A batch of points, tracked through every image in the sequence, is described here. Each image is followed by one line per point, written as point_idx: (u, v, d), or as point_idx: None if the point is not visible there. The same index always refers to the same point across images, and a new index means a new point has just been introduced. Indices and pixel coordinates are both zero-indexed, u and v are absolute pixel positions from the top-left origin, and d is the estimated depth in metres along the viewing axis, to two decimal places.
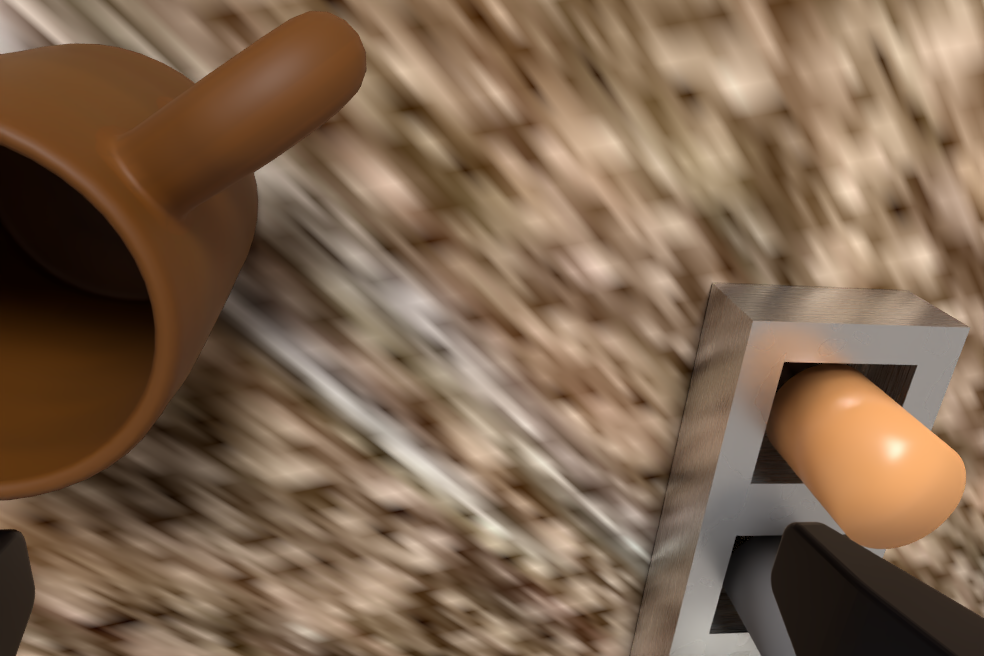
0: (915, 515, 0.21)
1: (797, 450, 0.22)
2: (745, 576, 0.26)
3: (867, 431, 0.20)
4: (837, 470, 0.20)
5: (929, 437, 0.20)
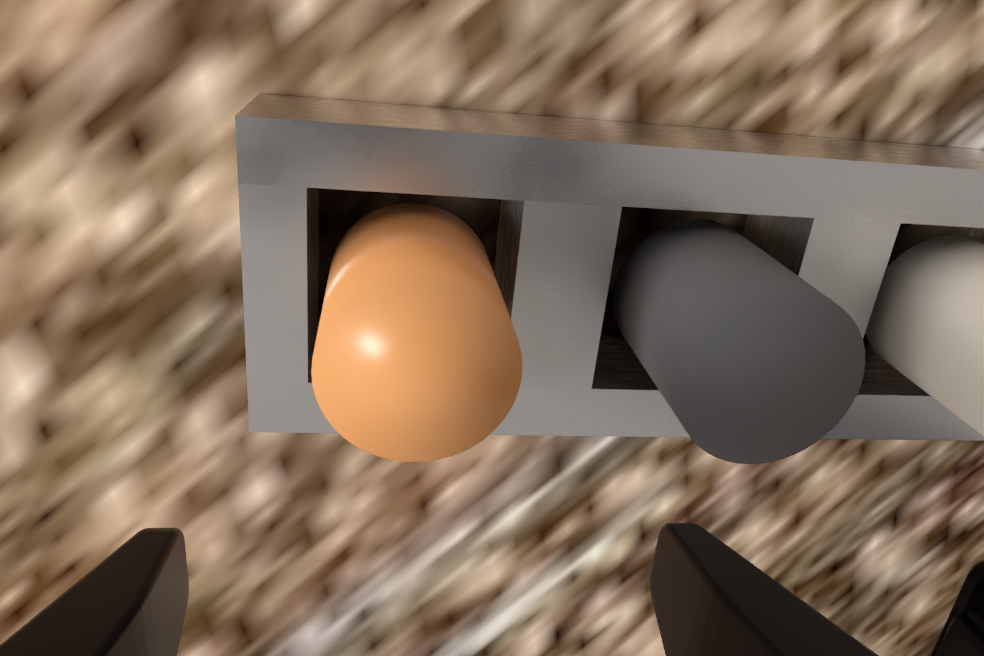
0: (459, 342, 0.13)
1: None
2: None
3: None
4: None
5: (314, 349, 0.13)
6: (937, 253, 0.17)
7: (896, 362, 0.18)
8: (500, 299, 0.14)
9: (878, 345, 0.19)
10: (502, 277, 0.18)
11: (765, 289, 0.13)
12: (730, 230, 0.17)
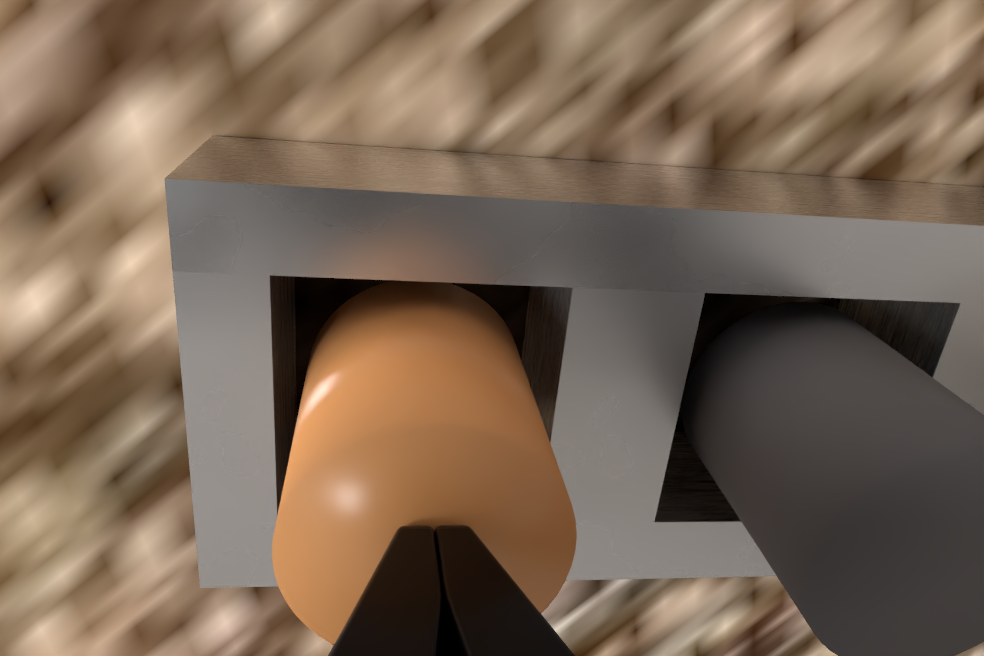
0: (488, 509, 0.09)
1: None
2: None
3: None
4: None
5: (276, 522, 0.09)
6: None
7: None
8: (543, 436, 0.10)
9: None
10: (535, 373, 0.14)
11: (940, 439, 0.09)
12: (846, 319, 0.12)
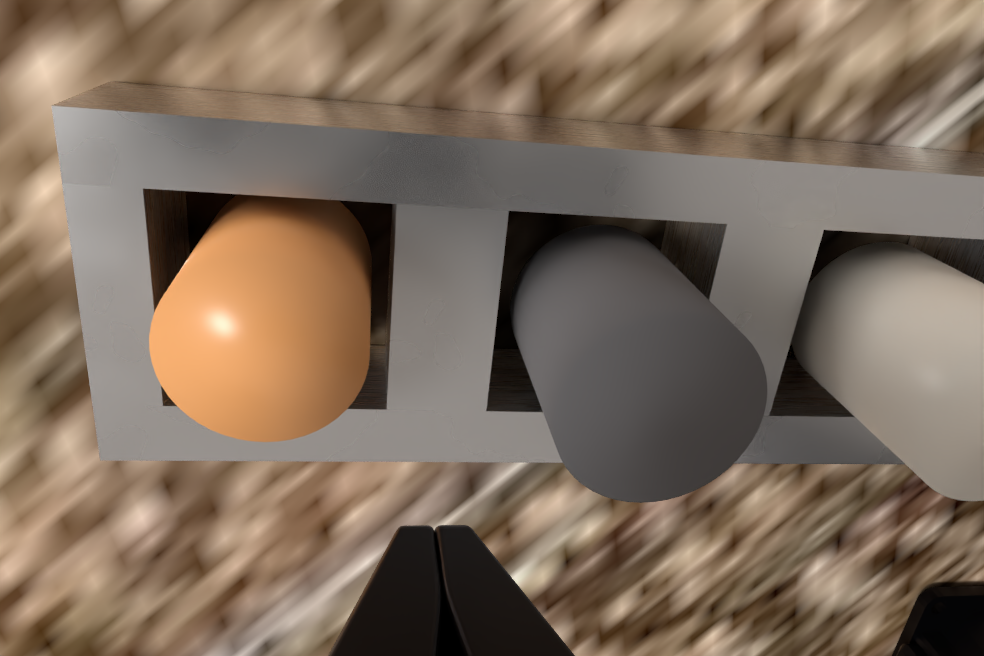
0: (301, 319, 0.13)
1: None
2: None
3: None
4: None
5: (152, 327, 0.13)
6: (865, 262, 0.16)
7: (822, 382, 0.16)
8: (351, 277, 0.13)
9: (805, 362, 0.17)
10: None
11: (649, 308, 0.12)
12: (634, 237, 0.15)
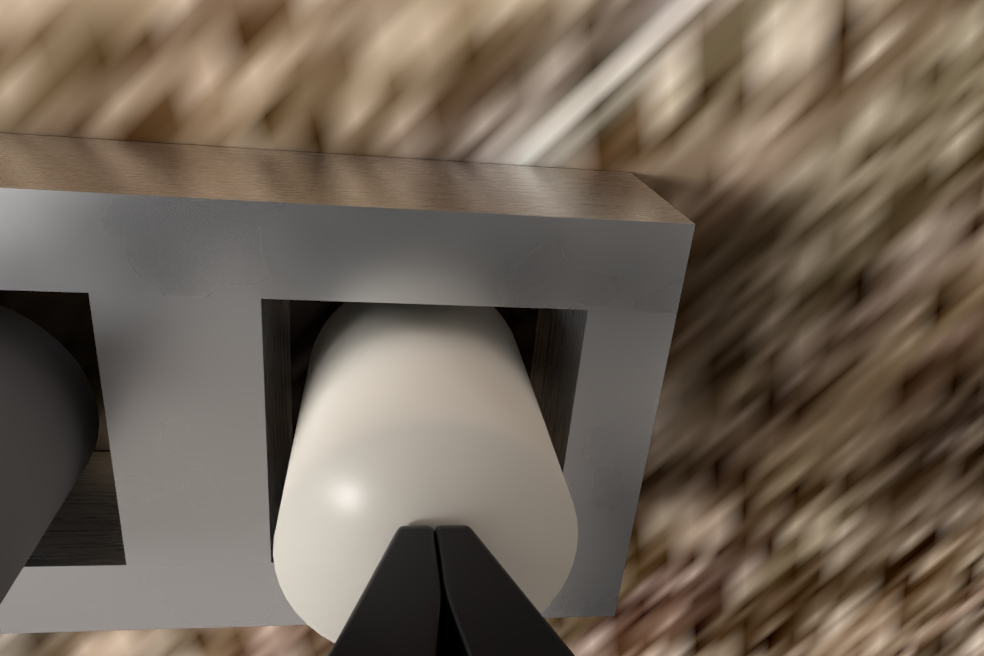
0: None
1: None
2: None
3: None
4: None
5: None
6: (359, 308, 0.12)
7: None
8: None
9: None
10: None
11: None
12: None
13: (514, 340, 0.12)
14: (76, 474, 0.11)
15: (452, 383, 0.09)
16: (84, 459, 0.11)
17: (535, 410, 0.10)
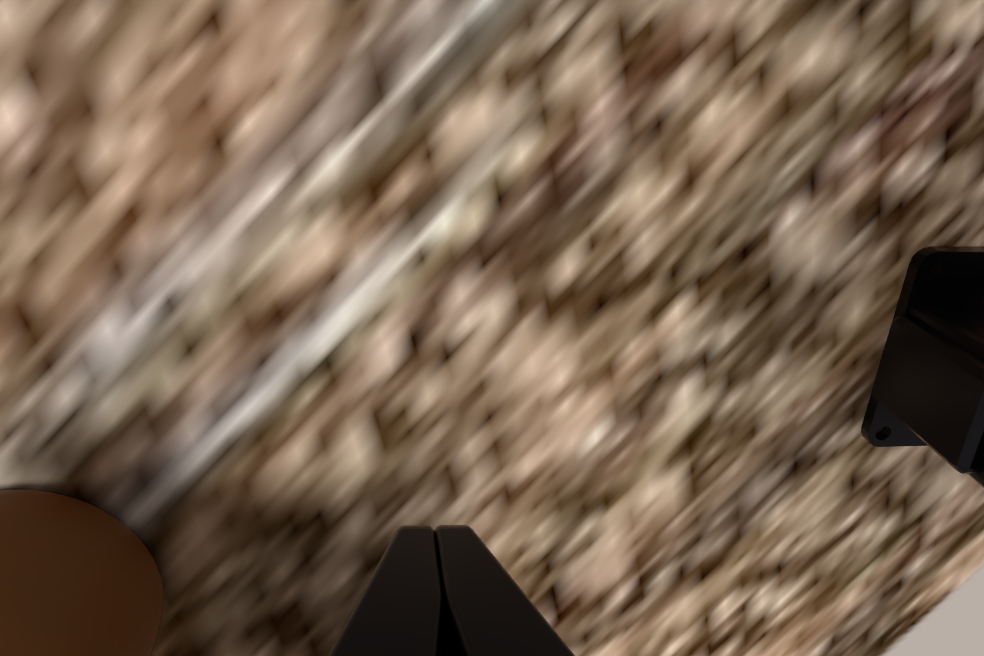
0: None
1: None
2: None
3: None
4: None
5: None
6: None
7: None
8: None
9: None
10: None
11: None
12: None
13: None
14: None
15: None
16: None
17: None
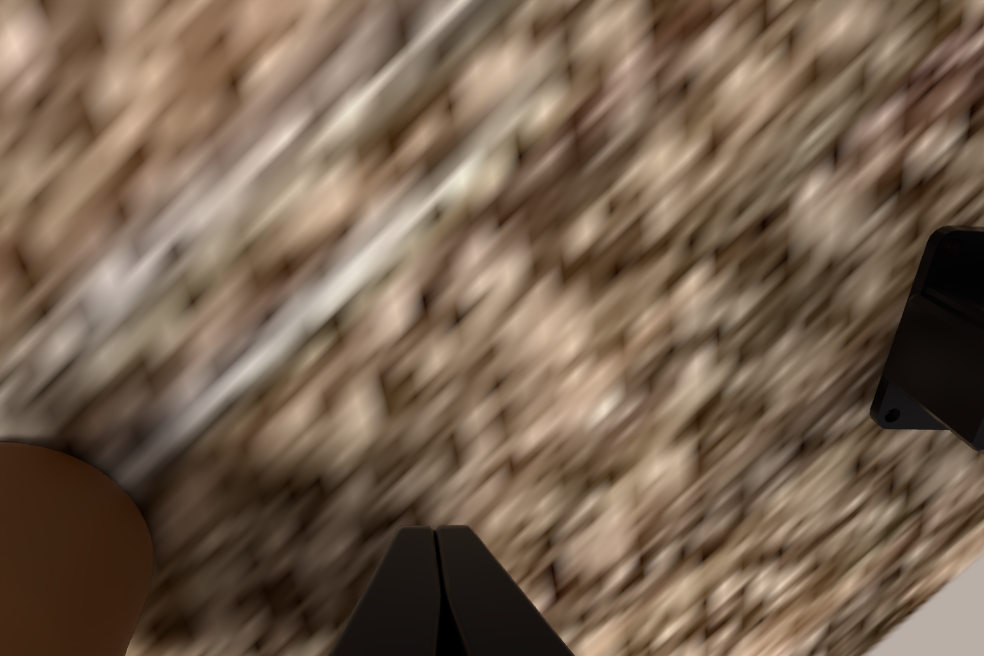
0: None
1: None
2: None
3: None
4: None
5: None
6: None
7: None
8: None
9: None
10: None
11: None
12: None
13: None
14: None
15: None
16: None
17: None
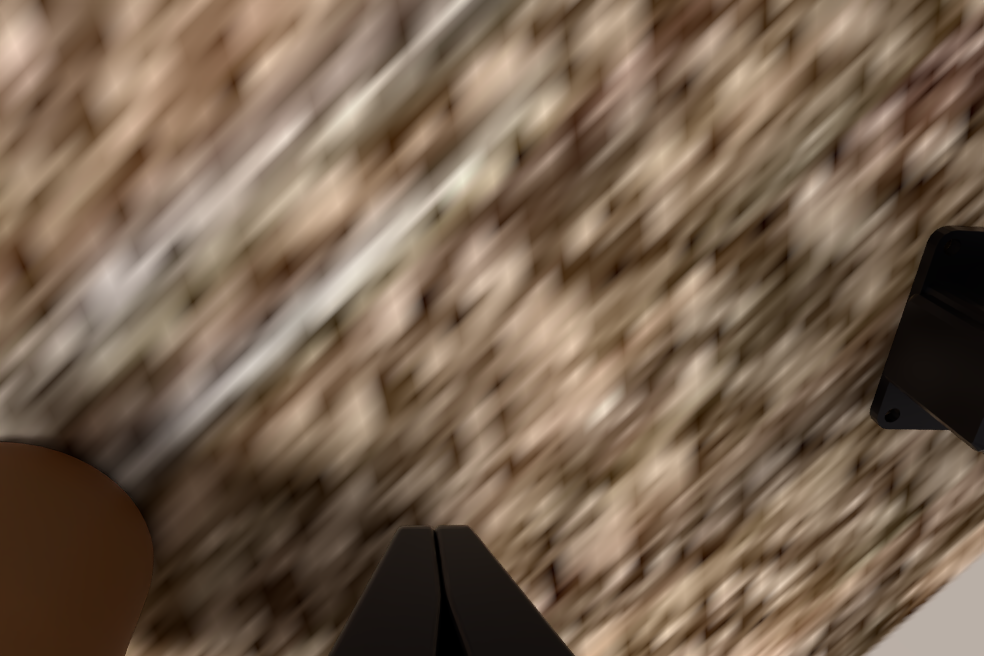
0: None
1: None
2: None
3: None
4: None
5: None
6: None
7: None
8: None
9: None
10: None
11: None
12: None
13: None
14: None
15: None
16: None
17: None
